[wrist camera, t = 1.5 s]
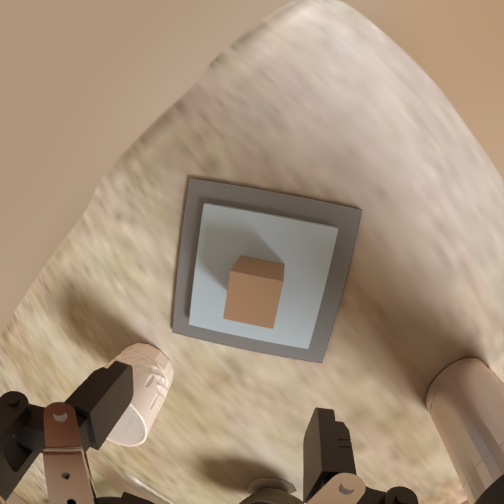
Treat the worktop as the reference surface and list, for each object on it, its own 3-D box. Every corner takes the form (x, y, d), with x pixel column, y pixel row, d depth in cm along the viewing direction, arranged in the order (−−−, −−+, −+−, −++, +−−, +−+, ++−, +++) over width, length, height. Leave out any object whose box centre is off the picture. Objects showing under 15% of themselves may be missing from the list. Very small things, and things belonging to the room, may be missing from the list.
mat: (361, 209, 28) (362, 210, 27) (321, 360, 32) (321, 363, 31) (191, 178, 29) (189, 178, 29) (173, 330, 33) (172, 332, 32)
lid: (336, 227, 28) (348, 239, 22) (307, 344, 31) (310, 377, 25) (206, 202, 29) (186, 208, 23) (191, 320, 32) (172, 348, 26)
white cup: (188, 359, 34) (156, 416, 24) (167, 402, 36) (137, 457, 26) (127, 325, 34) (80, 370, 24) (113, 371, 36) (73, 418, 26)
